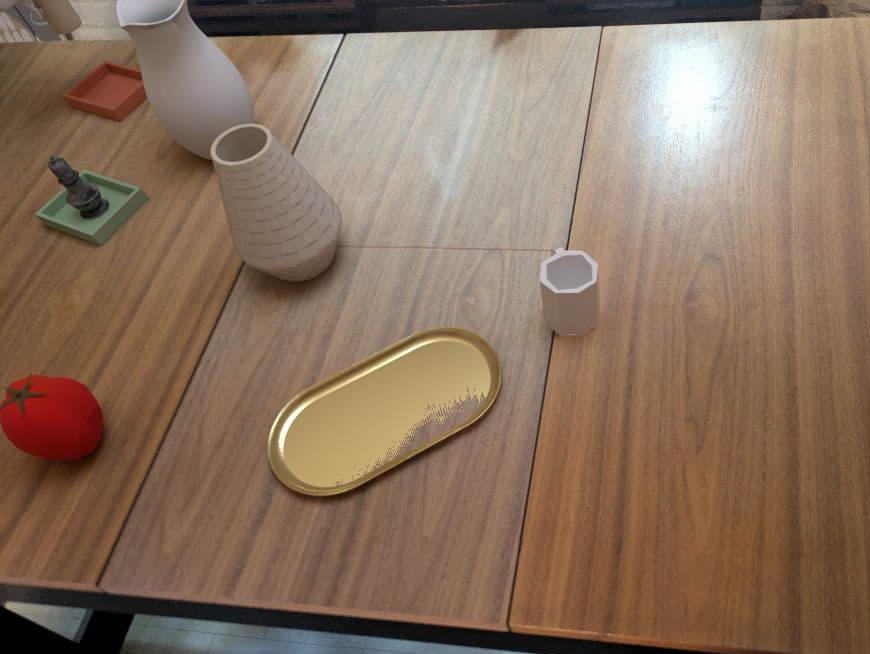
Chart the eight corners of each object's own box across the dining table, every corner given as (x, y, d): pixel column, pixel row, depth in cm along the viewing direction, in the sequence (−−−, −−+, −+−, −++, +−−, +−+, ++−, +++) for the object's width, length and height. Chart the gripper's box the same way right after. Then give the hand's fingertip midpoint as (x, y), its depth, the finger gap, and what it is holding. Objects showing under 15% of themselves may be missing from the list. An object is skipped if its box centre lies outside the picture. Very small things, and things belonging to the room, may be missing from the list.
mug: (608, 328, 105) (607, 284, 97) (552, 343, 105) (547, 301, 96) (583, 270, 111) (580, 225, 103) (531, 285, 111) (524, 240, 102)
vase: (232, 285, 117) (154, 174, 97) (285, 211, 125) (223, 96, 105) (322, 307, 112) (260, 197, 93) (372, 230, 120) (324, 113, 101)
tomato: (67, 492, 99) (-3, 448, 88) (29, 442, 104) (-42, 395, 93) (138, 436, 103) (80, 387, 92) (98, 391, 108) (38, 339, 97)
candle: (59, 38, 134) (22, -16, 126) (49, 27, 137) (11, -26, 128) (86, 25, 136) (51, -29, 127) (76, 14, 138) (40, -39, 130)
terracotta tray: (70, 106, 148) (62, 95, 145) (112, 71, 153) (105, 60, 151) (120, 121, 143) (113, 110, 141) (162, 84, 149) (155, 73, 146)
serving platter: (526, 399, 100) (525, 393, 99) (298, 525, 93) (294, 520, 92) (466, 313, 109) (464, 307, 108) (254, 422, 102) (249, 417, 101)
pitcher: (281, 144, 135) (210, -3, 111) (199, 184, 131) (106, 41, 107) (236, 86, 146) (162, -59, 122) (159, 121, 142) (68, -21, 118)
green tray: (44, 225, 129) (34, 214, 127) (93, 179, 134) (84, 169, 132) (101, 246, 125) (91, 235, 122) (149, 198, 130) (140, 187, 128)
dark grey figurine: (77, 204, 130) (31, 151, 120) (109, 193, 131) (66, 139, 121) (79, 224, 127) (32, 172, 117) (112, 213, 128) (68, 160, 118)
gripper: (32, -104, 127) (82, -24, 138) (-58, -45, 118) (3, 35, 130) (57, -100, 125) (105, -19, 137) (-34, -39, 116) (26, 41, 128)
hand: (55, 8), depth 133 cm, fingers closed on candle, 5 cm apart
